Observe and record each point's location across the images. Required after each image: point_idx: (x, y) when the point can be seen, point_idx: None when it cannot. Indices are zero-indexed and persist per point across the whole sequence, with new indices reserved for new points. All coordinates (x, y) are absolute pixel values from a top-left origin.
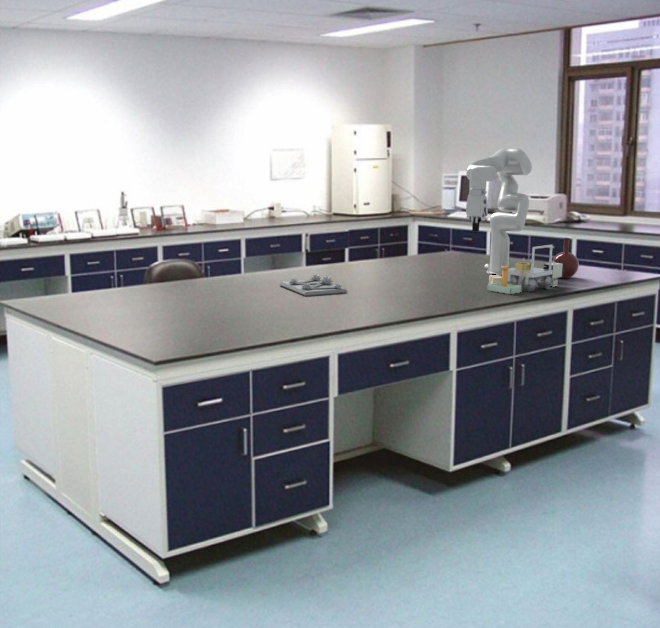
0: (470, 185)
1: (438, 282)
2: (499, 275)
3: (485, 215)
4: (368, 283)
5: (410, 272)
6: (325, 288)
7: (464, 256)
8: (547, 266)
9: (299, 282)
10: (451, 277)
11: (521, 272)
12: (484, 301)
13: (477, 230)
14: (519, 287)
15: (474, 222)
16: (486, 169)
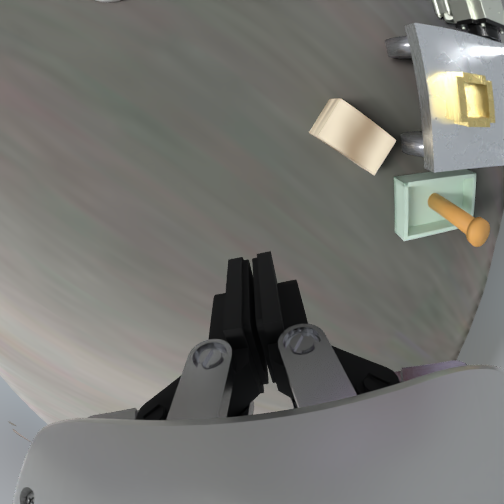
0: None
1: (192, 271)
2: (344, 103)
3: (455, 383)
4: (152, 393)
5: (17, 241)
6: None
7: None
8: (493, 27)
9: None
10: (115, 171)
11: (491, 165)
12: (451, 314)
13: (276, 279)
14: (474, 183)
15: (260, 385)
16: None
